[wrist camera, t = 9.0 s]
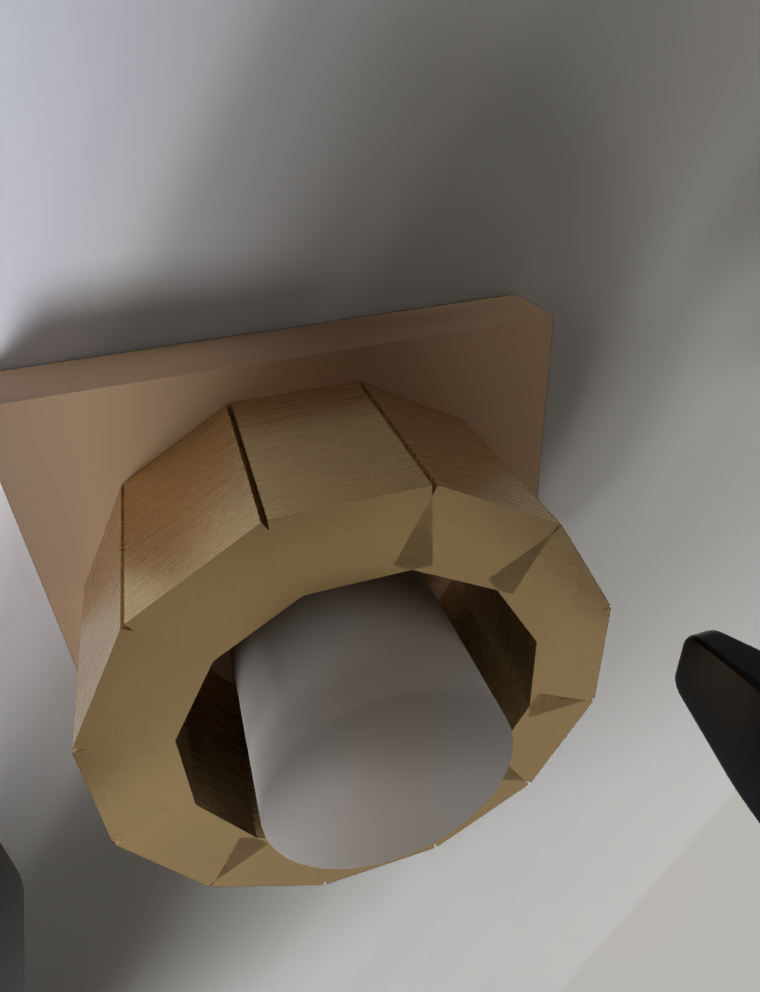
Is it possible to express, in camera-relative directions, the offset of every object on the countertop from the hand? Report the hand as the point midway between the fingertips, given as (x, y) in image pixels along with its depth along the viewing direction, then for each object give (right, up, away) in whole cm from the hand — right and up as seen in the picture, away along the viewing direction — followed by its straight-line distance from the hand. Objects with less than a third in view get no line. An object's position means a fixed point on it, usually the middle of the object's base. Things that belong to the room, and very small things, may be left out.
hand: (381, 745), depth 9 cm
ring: (-1, +2, +3) cm, 3 cm away
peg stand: (-1, +2, +4) cm, 5 cm away
